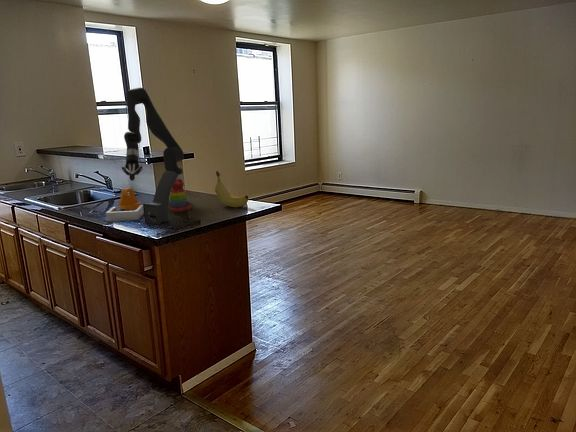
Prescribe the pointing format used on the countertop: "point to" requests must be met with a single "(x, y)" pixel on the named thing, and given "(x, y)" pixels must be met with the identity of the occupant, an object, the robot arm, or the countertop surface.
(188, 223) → the countertop surface
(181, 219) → the countertop surface
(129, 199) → the orange tapered block
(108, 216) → the bracket
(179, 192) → the stacking bear
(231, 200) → the banana
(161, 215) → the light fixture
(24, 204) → the countertop surface
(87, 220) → the countertop surface
